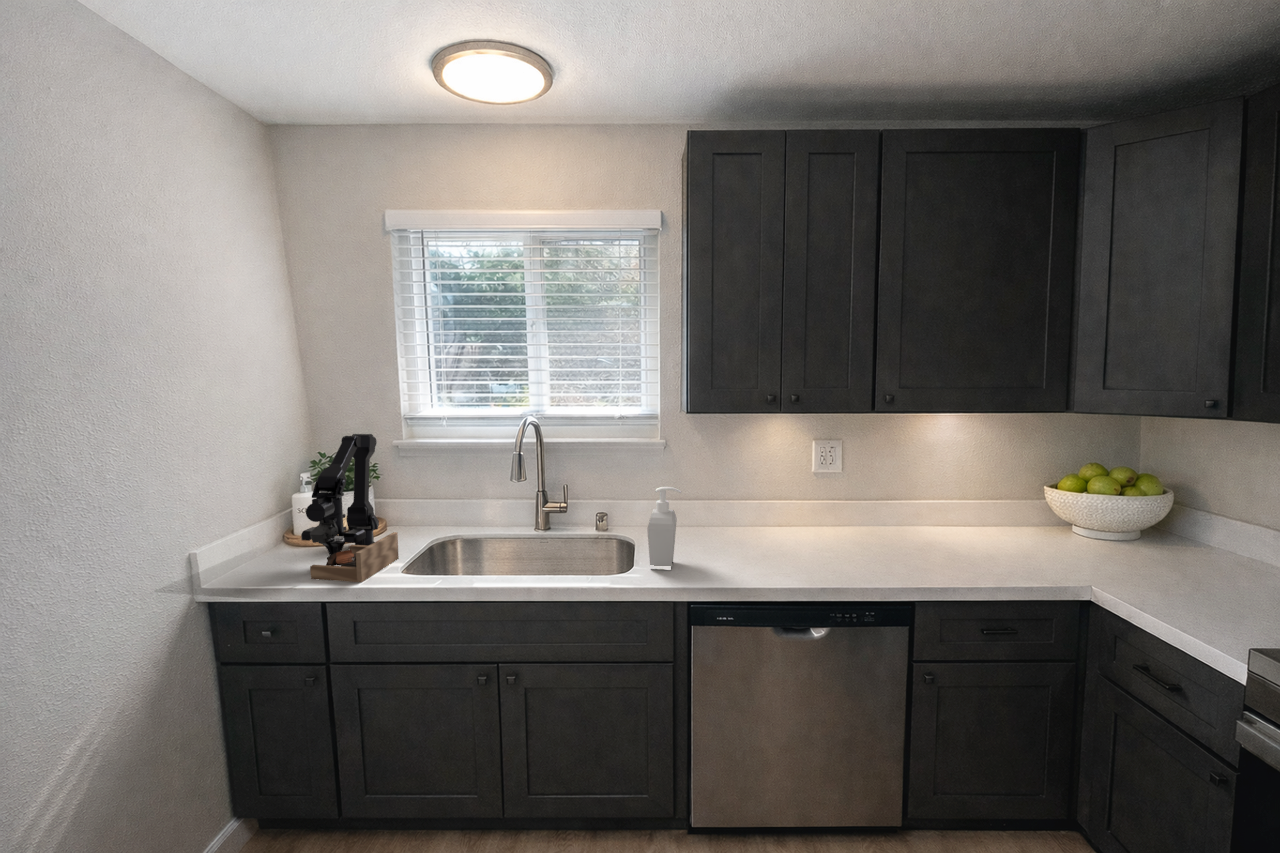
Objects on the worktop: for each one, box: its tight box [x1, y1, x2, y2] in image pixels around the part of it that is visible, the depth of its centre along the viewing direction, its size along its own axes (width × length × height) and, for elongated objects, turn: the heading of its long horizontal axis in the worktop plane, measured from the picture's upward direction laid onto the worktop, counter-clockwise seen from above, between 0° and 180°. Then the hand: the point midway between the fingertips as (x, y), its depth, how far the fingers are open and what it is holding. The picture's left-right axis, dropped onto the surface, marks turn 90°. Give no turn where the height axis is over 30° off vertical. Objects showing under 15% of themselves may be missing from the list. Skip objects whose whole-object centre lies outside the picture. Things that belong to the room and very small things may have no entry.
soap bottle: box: [646, 486, 682, 567], centre depth 198 cm, size 12×10×26 cm
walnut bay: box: [309, 531, 400, 583], centre depth 195 cm, size 21×16×9 cm
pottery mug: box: [325, 549, 356, 567], centre depth 192 cm, size 12×10×8 cm
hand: (335, 561), depth 196 cm, fingers closed
